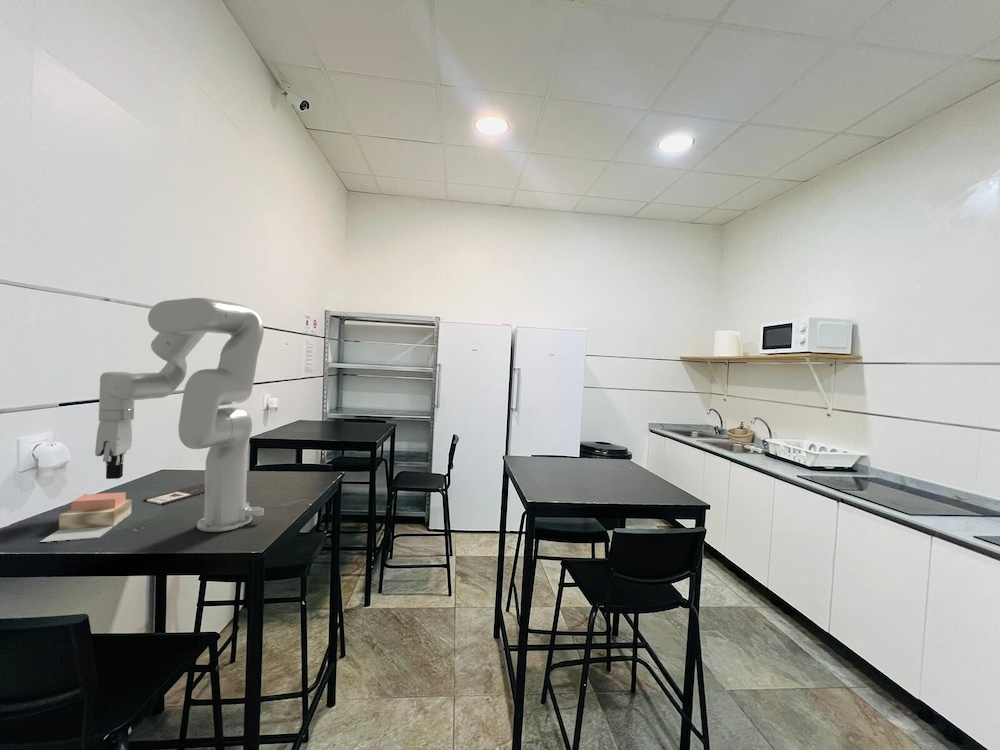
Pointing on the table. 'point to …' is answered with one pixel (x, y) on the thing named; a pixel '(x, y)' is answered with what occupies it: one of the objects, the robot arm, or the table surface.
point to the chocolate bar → (177, 495)
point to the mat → (77, 534)
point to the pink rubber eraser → (98, 501)
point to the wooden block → (94, 517)
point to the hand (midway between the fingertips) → (114, 477)
